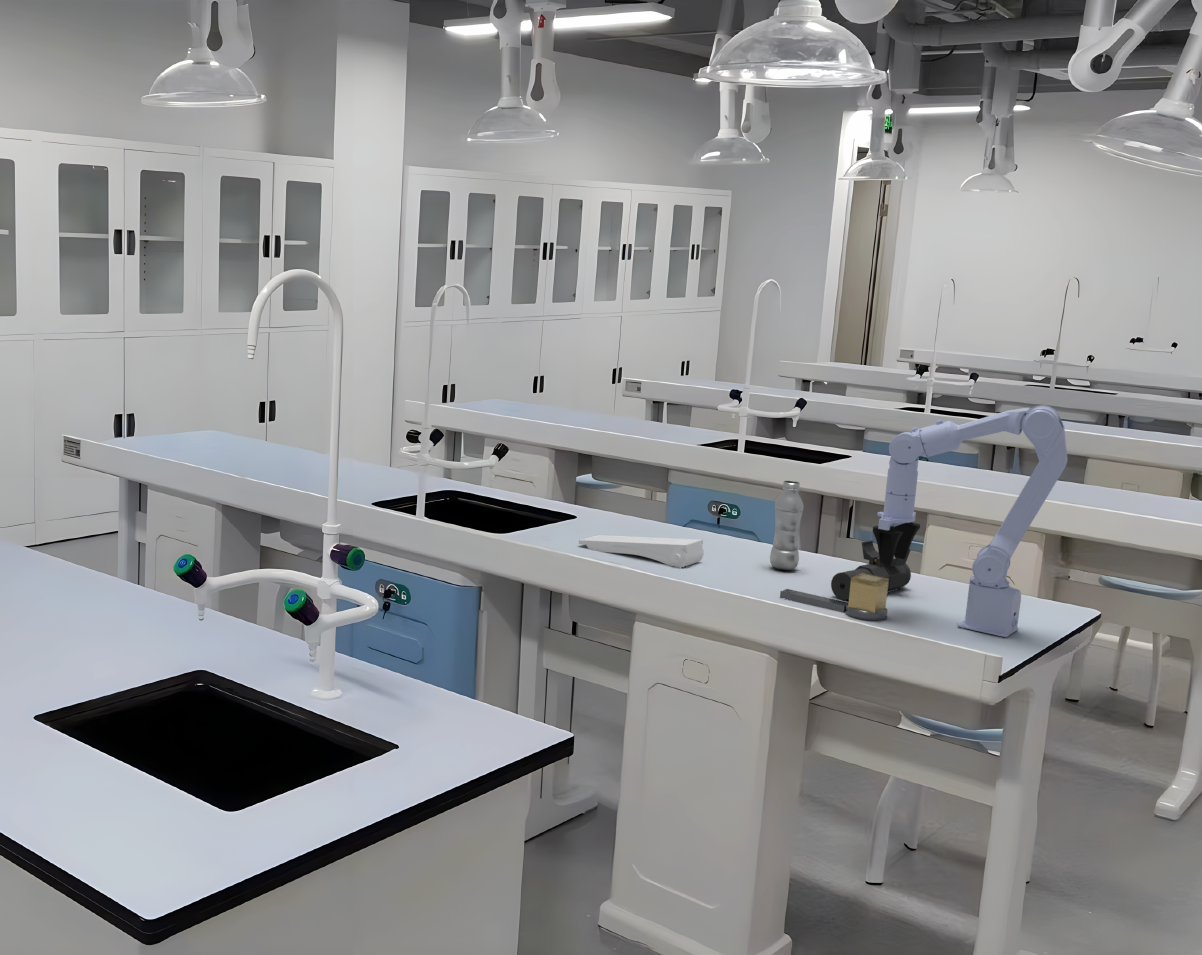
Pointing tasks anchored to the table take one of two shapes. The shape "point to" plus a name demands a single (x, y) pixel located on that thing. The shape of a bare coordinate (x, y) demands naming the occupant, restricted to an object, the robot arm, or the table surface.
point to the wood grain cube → (868, 593)
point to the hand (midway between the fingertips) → (892, 561)
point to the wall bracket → (650, 548)
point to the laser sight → (873, 572)
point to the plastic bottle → (787, 527)
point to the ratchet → (833, 605)
